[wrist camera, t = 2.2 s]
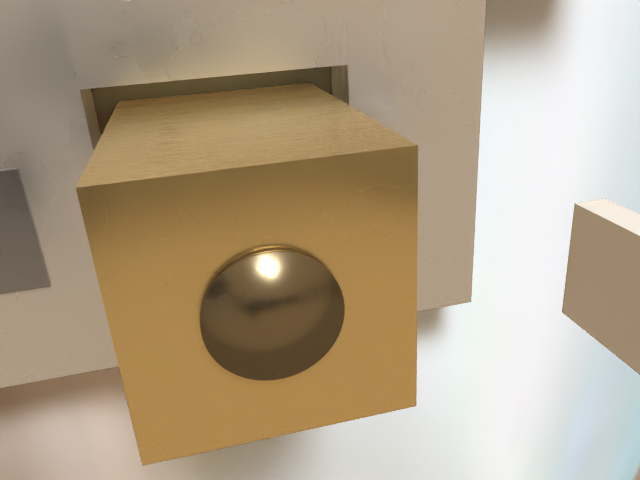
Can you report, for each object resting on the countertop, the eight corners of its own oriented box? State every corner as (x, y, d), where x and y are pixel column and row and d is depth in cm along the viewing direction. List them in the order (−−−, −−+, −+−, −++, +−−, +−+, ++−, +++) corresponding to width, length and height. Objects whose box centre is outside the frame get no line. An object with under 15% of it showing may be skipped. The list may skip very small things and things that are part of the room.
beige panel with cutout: (-187, 387, 19) (-228, 431, 17) (-371, 23, 14) (-454, 27, 12) (447, 278, 23) (472, 303, 21) (456, -29, 18) (489, -32, 16)
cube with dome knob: (153, 276, 20) (142, 473, 12) (118, 101, 18) (73, 191, 9) (321, 250, 21) (419, 412, 13) (310, 82, 19) (422, 147, 10)
